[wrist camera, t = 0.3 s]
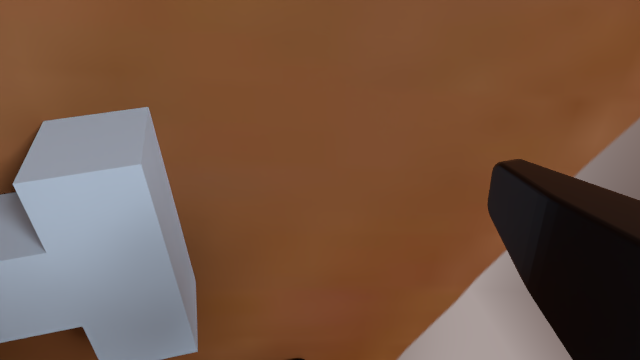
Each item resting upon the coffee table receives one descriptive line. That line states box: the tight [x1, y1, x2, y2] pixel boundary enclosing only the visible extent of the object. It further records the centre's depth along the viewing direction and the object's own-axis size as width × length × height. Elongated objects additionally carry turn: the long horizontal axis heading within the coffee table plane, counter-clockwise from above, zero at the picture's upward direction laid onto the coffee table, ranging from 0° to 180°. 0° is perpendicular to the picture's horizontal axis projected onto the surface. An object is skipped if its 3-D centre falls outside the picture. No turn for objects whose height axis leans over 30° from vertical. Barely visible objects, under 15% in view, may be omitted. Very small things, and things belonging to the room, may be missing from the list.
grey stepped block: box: [0, 107, 198, 360], centre depth 21 cm, size 10×10×4 cm
